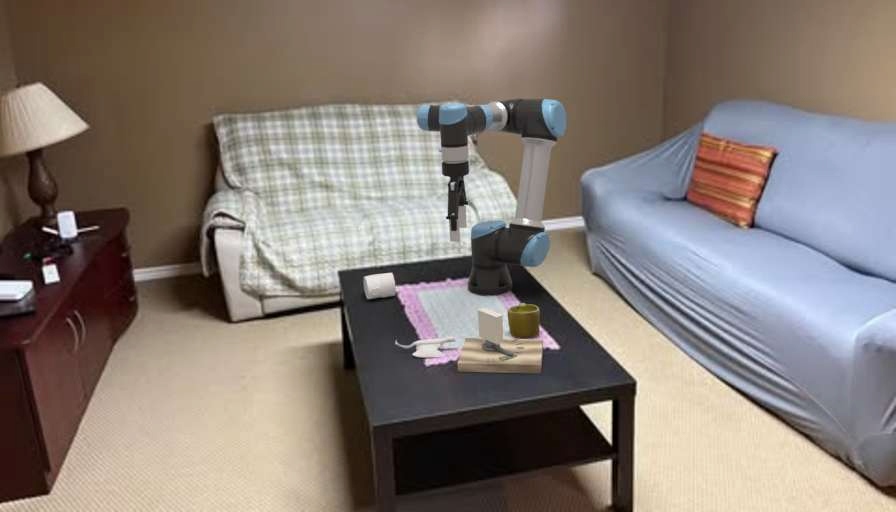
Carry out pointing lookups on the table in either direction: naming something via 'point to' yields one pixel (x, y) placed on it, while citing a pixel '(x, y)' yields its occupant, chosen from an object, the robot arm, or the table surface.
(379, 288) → the white cylinder
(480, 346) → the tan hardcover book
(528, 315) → the mug
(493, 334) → the white upright block
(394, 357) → the table surface
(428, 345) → the winged dragon toy
